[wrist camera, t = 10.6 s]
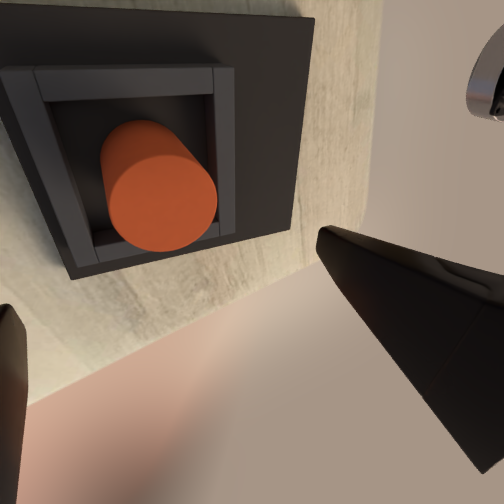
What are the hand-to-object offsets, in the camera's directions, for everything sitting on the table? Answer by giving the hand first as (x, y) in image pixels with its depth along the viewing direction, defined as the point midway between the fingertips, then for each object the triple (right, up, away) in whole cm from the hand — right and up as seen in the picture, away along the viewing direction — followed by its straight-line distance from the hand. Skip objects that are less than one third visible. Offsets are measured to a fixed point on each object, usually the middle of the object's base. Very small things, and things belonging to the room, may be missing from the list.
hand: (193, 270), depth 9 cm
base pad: (-2, +6, +7) cm, 10 cm away
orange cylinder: (-3, +5, +6) cm, 9 cm away
